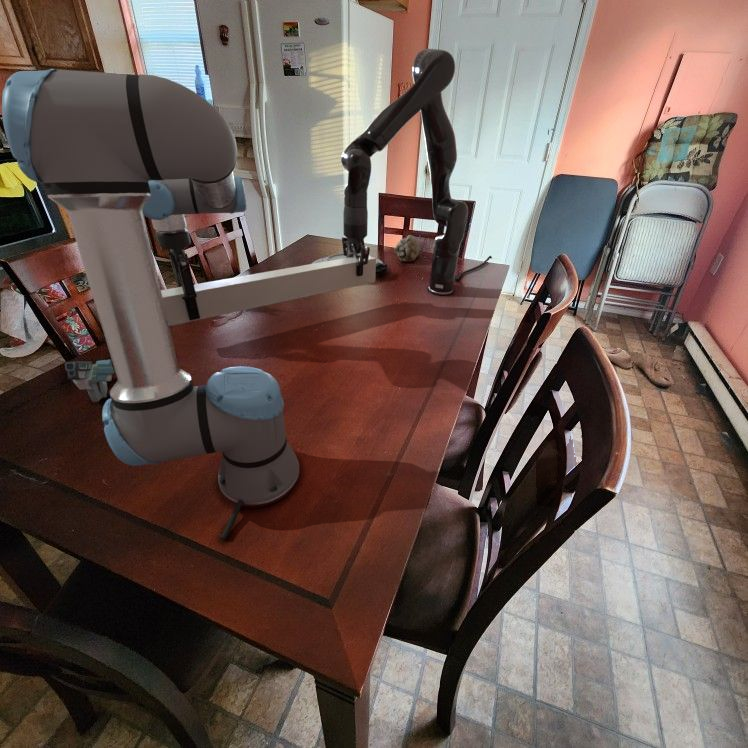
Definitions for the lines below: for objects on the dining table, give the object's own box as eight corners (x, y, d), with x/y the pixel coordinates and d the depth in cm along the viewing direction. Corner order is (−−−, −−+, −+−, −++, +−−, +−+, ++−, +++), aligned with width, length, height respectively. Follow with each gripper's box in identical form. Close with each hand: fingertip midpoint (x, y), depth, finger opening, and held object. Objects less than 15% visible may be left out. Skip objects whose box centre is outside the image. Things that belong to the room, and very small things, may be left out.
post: (168, 326, 110) (161, 297, 105) (165, 318, 114) (157, 290, 109) (375, 282, 141) (376, 258, 136) (367, 277, 144) (368, 253, 140)
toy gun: (65, 406, 86) (58, 359, 85) (102, 400, 104) (96, 361, 104) (85, 404, 87) (78, 357, 86) (118, 398, 105) (112, 359, 105)
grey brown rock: (426, 260, 191) (417, 258, 177) (404, 265, 195) (393, 264, 182) (423, 235, 189) (413, 231, 176) (400, 241, 194) (388, 237, 180)
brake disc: (393, 279, 165) (394, 268, 162) (319, 285, 157) (318, 273, 154) (371, 254, 190) (371, 244, 187) (306, 258, 182) (305, 247, 180)
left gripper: (196, 237, 97) (215, 325, 110) (179, 218, 109) (197, 299, 122) (162, 241, 93) (185, 331, 107) (148, 222, 106) (171, 305, 119)
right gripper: (378, 224, 125) (376, 278, 135) (354, 213, 134) (353, 264, 144) (357, 227, 121) (356, 282, 131) (333, 216, 131) (334, 267, 141)
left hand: (192, 314), depth 115 cm, fingers closed on post, 5 cm apart
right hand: (355, 272), depth 138 cm, fingers closed on post, 5 cm apart
